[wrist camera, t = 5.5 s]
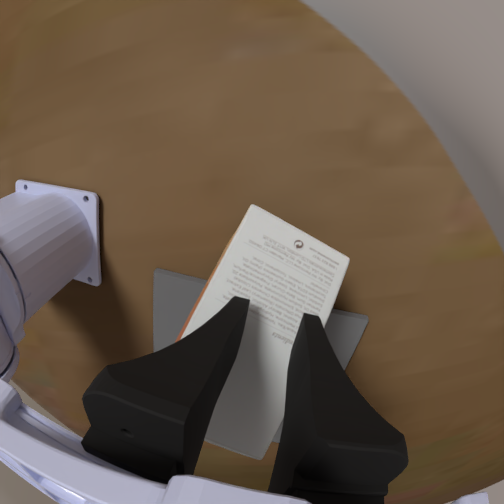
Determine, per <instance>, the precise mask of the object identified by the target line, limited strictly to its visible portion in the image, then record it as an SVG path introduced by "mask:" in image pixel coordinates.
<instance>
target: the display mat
mask: <svg viewBox="0 0 504 504" xmlns="http://www.w3.org/2000/svg"><path fill="white" fill-rule="evenodd" d="M207 281H208V280H204V279H200V278H196V277H192V276H188V275H184V274H180V273H176V272H172V271H168V270H164V269H160V268H156V270H155V271H154V289H153V342H154V352H157V351H159V350H161V349H163V348H165V347H167V346H169V345H171V344H173V343H175V341H176V339H177V337H178V335H179V333H180V331H181V329H182V328H183V326H184V324H185V322H186V320H187V318H188V316H189V314H190V312H191V311H192V309H193V307H194V305H195V303H196V301H197V299H198V297H199V296H200V294H201V292H202V290H203V288H204V287H205V285H206V283H207ZM368 321H369V320H368V316H367V315H362V314H357V313H352V312H347V311H342V310H337V309H332V310H331V313H330V315H329V318H328V320H327V323H326V325H325V328H324V330H325V332H326V335H327V337H328V340H329V342H330V344H331V346H332V348H333V350H334V353H335V355H336V357H337V359H338V360H339V362H340V364H341V366H342V368H343V369H344V370H345V368H346V366H347V364H348V362H349V360H350V358H351V356H352V354H353V352H354V350H355V348H356V346H357V344H358V342H359V340H360V338H361V336H362V334H363V332H364V329H365V327H366V325H367V323H368ZM283 421H284V418H283V420H282V422H281V424H280V426H279V428H278V430H277V432H276V434H275V435H274V437H273V439H272V442H277V443H279V442H280V437H281V432H282V427H283Z"/></svg>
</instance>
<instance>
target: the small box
mask: <svg viewBox="0 0 504 504" xmlns="http://www.w3.org/2000/svg"><path fill="white" fill-rule="evenodd" d="M348 265H349V258H348V257H347V256H345V255H343V254H342V253H340V252H338V251H336V250H335V249H333V248H331V247H329V246H328V245H326V244H324V243H322V242H321V241H319V240H317V239H315V238H314V237H312V236H310V235H308V234H307V233H305V232H303V231H301V230H300V229H298V228H296V227H294V226H292V225H291V224H289V223H287V222H285V221H284V220H282V219H280V218H278V217H276V216H274V215H273V214H271V213H269V212H267V211H265V210H263V209H262V208H260V207H258V206H256V205H253V204H252V205H250V207H249V209H248V210H247V212H246V214H245V216H244V218H243V219H242V221H241V223H240V225H239V227H238V228H237V230H236V231H235V233H234V235H233V236H232V238H231V239H230V241H229V242H228V244H227V246H226V247H225V249H224V251H223V253H222V255H221V257H220V259H219V261H218V263H217V265H216V267H215V268H214V270H213V272H212V274H211V276H210V277H209V279H208V281H207V283H206V285H205V287H204V288H203V290H202V292H201V294H200V296H199V297H198V299H197V301H196V303H195V305H194V307H193V309H192V311H191V312H190V314H189V316H188V318H187V320H186V322H185V324H184V326H183V328H182V329H181V331H180V333H179V335H178V337H177V339H176V341H175V342H177V341H179V340H181V339H182V338H184V337H186V336H187V335H189V334H190V333H192V332H193V331H195V330H196V329H197V328H199V327H200V326H201V325H203V324H204V323H206V322H207V321H208V320H209V319H210V318H212V317H213V316H214V315H215V314H216V313H217V312H219V311H220V310H221V309H222V308H223V307H224V306H225V305H226V304H227V303H228V302H229V301H230V299H231V298H232V297H234V296H238V297H242V298H246V299H250V303H249V308H248V313H247V318H246V323H245V327H244V332H243V336H242V339H241V343H240V347H239V350H238V354H237V357H236V360H235V362H234V364H233V367H232V369H231V371H230V373H229V376H228V378H227V380H226V382H225V385H224V387H223V389H222V391H221V393H220V396H219V398H218V400H217V403H216V405H215V408H214V411H213V414H212V417H211V420H210V423H209V426H208V429H207V432H206V435H205V438H204V441H207V442H209V443H212V444H214V445H217V446H220V447H222V448H225V449H228V450H231V451H233V452H236V453H239V454H242V455H245V456H248V457H251V458H255V459H259V460H261V459H262V458H263V457H264V455H265V453H266V451H267V449H268V447H269V445H270V443H271V441H272V439H273V437H274V435H275V434H276V432H277V430H278V428H279V426H280V424H281V422H282V420H283V418H284V411H285V397H286V382H287V370H288V364H289V359H290V354H291V349H292V346H293V343H294V340H295V337H296V334H297V332H298V329H299V326H300V323H301V320H302V317H303V314H304V313H308V314H313V315H317V316H319V317H320V319H321V322H322V325H323V327H324V328H325V325H326V323H327V320H328V318H329V315H330V313H331V310H332V308H333V305H334V303H335V300H336V298H337V295H338V292H339V289H340V287H341V284H342V281H343V279H344V276H345V273H346V270H347V268H348Z"/></svg>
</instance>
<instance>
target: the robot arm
mask: <svg viewBox="0 0 504 504" xmlns="http://www.w3.org/2000/svg"><path fill="white" fill-rule="evenodd" d="M86 196H87V197H88V199H89V201H88V200H87V199H86ZM90 278H91V279H92V280H91V279H90ZM72 279H75V280H78V281H81V282H84V283H87V284H90V285H93V286H99V285H100V284H101V265H100V244H99V197H98V195H97V194H96V193H94V192H89V191H83V190H78V189H72V188H67V187H61V186H56V185H50V184H44V183H39V182H33V181H27V180H18V181H17V182H16V192H15V193H12V194H10V195H8V196H6V197H3V198H1V199H0V461H2V462H3V463H4V464H5V465H7V466H8V467H9V468H10V469H12V470H13V471H14V472H16V473H17V474H18V475H19V476H21V477H22V478H23V479H25V480H26V481H27V482H29V483H30V484H32V485H33V486H35V487H36V488H37V489H39V490H40V491H41V492H43V493H44V494H46V495H47V496H49V497H50V498H52V499H53V500H55V501H56V502H58V503H59V504H384V496H386V495H387V493H388V483H390V482H391V481H392V480H393V479H395V478H396V477H397V476H398V475H399V474H400V473H401V472H402V471H403V470H404V469H405V468H406V467H407V465H408V453H407V446H406V442H405V438H404V435H403V434H402V433H400V432H399V431H398V430H397V429H395V428H394V427H393V426H392V425H390V424H389V423H388V422H387V421H386V420H385V419H384V418H382V417H381V416H380V415H379V414H378V413H377V412H376V411H375V410H374V409H373V408H372V407H371V406H370V404H369V403H368V402H367V401H366V400H365V399H364V397H363V396H362V395H361V394H360V393H359V391H358V390H357V389H356V388H355V386H354V385H353V383H352V382H351V380H350V379H349V378H348V376H347V374H346V373H345V371H344V369H343V368H342V366H341V364H340V362H339V360H338V359H337V357H336V355H335V353H334V350H333V348H332V346H331V344H330V342H329V340H328V337H327V335H326V332H325V330H324V327H323V325H322V322H321V319H320V317H319V316H317V315H313V314H308V313H304V314H303V317H302V320H301V323H300V326H299V329H298V332H297V334H296V337H295V340H294V343H293V346H292V349H291V354H290V359H289V364H288V370H287V382H286V397H285V411H284V421H283V427H282V432H281V437H280V442H279V447H278V451H277V456H276V460H275V465H274V469H273V473H272V477H271V481H270V485H269V488H268V492H264V491H259V490H254V489H249V488H245V487H240V486H236V485H231V484H227V483H223V482H219V481H216V480H212V479H208V478H204V477H199V476H194V475H193V473H194V470H195V467H196V463H197V460H198V457H199V454H200V451H201V448H202V444H203V441H204V438H205V435H206V432H207V429H208V426H209V423H210V420H211V417H212V414H213V411H214V408H215V405H216V403H217V400H218V398H219V396H220V393H221V391H222V389H223V387H224V385H225V382H226V380H227V378H228V376H229V373H230V371H231V369H232V367H233V364H234V362H235V360H236V357H237V354H238V350H239V347H240V343H241V339H242V336H243V332H244V327H245V323H246V318H247V313H248V308H249V303H250V299H246V298H242V297H238V296H234V297H232V298H231V299H230V301H229V302H228V303H227V304H226V305H225V306H224V307H223V308H222V309H221V310H220V311H219V312H217V313H216V314H215V315H214V316H213V317H212V318H210V319H209V320H208V321H207V322H206V323H204V324H203V325H201V326H200V327H199V328H197V329H196V330H195V331H193V332H192V333H190V334H189V335H187V336H186V337H184V338H182V339H181V340H179V341H177V342H175V343H173V344H171V345H169V346H167V347H165V348H163V349H161V350H159V351H157V352H154V353H151V354H149V355H146V356H143V357H140V358H137V359H134V360H130V361H126V362H121V363H117V364H112V365H107V366H106V367H105V368H104V369H103V370H102V371H101V372H100V373H99V374H98V375H97V377H96V378H95V379H94V380H93V382H92V383H91V385H90V386H89V387H88V389H87V390H86V391H85V393H84V395H83V398H82V400H83V405H84V408H85V411H86V413H87V416H88V419H89V421H90V424H91V427H90V428H89V430H88V431H87V433H86V435H85V436H84V438H82V437H80V436H78V435H76V434H74V433H73V432H71V431H69V430H67V429H65V428H63V427H62V426H60V425H58V424H57V423H55V422H53V421H51V420H50V419H48V418H46V417H45V416H43V415H41V414H40V413H38V412H37V411H35V410H33V409H32V408H30V407H29V406H27V405H26V404H24V403H23V402H22V399H21V397H20V395H19V393H18V392H17V391H16V390H15V388H14V387H12V386H11V385H10V384H9V383H8V382H9V381H10V379H11V378H12V376H13V375H14V373H15V371H16V369H17V366H18V363H19V351H18V348H17V346H16V345H17V344H18V343H19V342H20V341H21V340H22V339H23V338H24V337H25V332H24V329H23V324H24V323H25V322H26V321H27V320H28V319H29V318H31V317H32V316H33V315H34V314H35V313H36V312H37V311H38V310H39V309H40V308H41V307H42V306H43V305H44V304H45V303H46V302H48V301H49V300H50V299H51V298H52V297H53V296H54V295H55V294H56V293H57V292H59V291H60V290H61V289H62V288H63V287H64V286H65V285H66V284H68V283H69V282H70V281H71V280H72ZM451 504H489V500H488V495H487V492H480V493H475V494H469V495H465V496H462V497H460V498H458V499H456V500H455V501H454V502H452V503H451Z"/></svg>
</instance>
